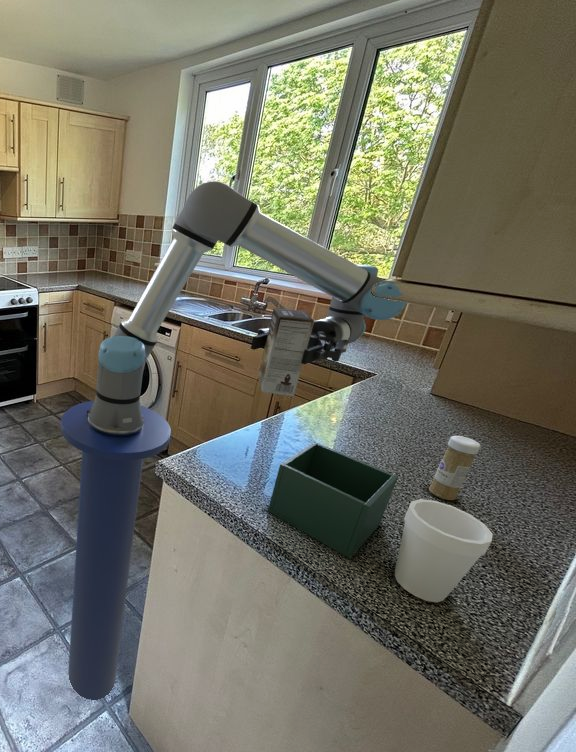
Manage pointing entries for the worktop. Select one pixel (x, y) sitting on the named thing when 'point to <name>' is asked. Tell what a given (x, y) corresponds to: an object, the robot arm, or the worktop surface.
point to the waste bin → (331, 497)
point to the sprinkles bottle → (454, 467)
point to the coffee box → (284, 351)
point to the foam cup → (438, 548)
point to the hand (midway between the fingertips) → (278, 349)
